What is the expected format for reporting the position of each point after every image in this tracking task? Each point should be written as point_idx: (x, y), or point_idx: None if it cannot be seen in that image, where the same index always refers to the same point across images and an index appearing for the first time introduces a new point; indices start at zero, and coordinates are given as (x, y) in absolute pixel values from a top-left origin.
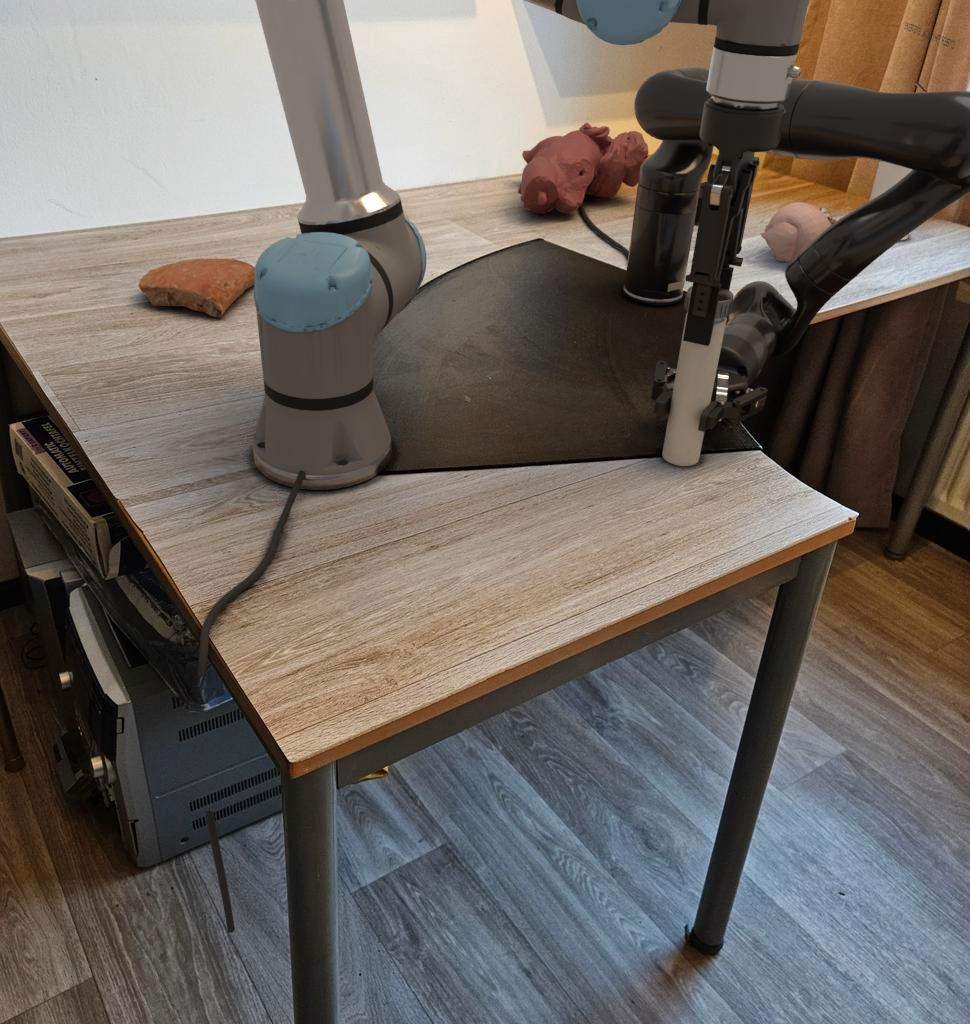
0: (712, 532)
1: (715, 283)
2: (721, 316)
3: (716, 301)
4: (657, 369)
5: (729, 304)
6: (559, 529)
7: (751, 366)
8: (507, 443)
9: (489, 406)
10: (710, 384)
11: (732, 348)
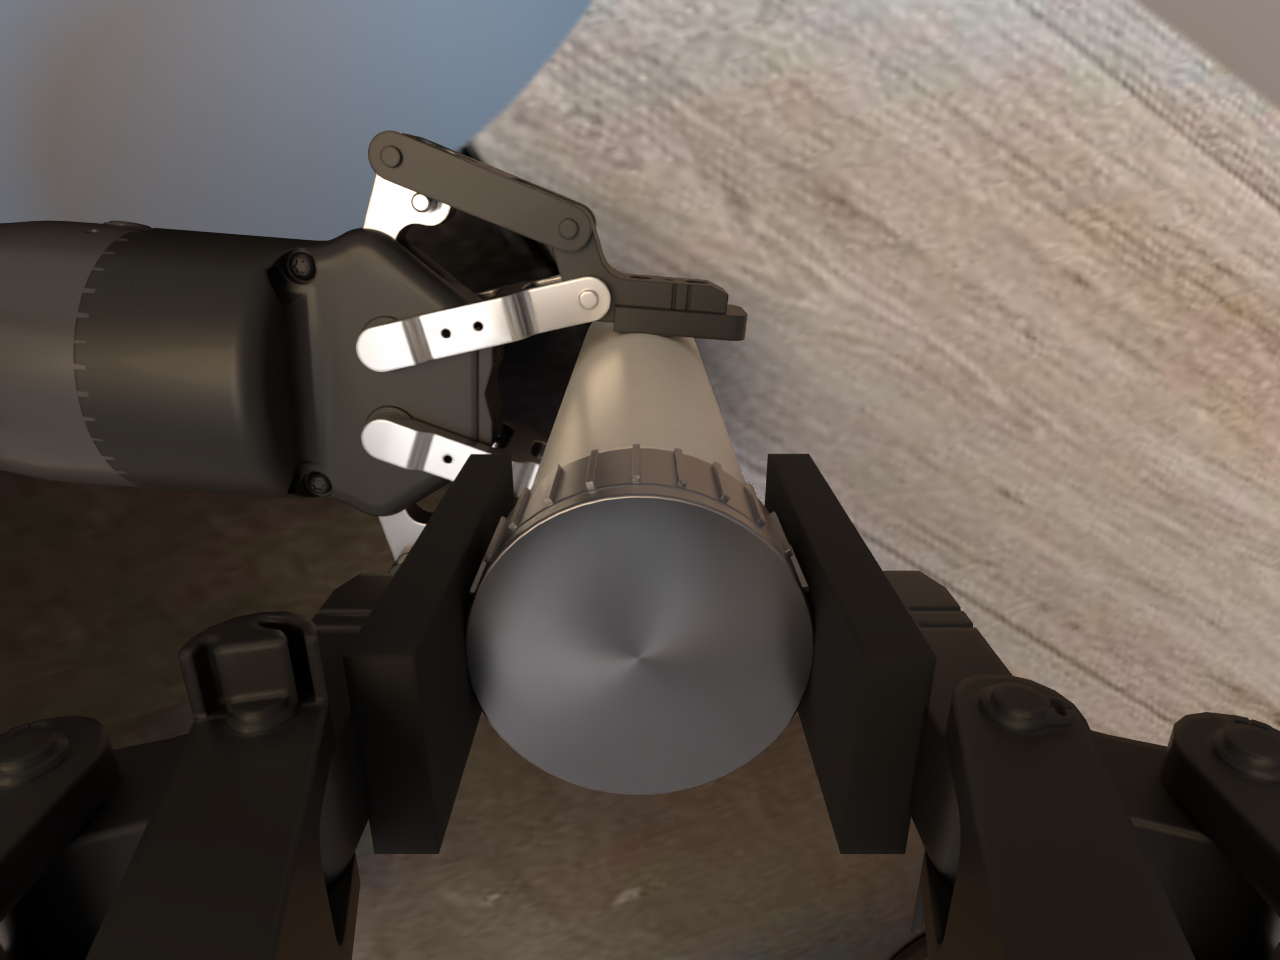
0: (1024, 149)
1: (1075, 714)
2: (740, 485)
3: (886, 584)
4: None
5: (693, 485)
6: (1136, 523)
7: (216, 253)
8: (791, 754)
9: (635, 847)
10: (676, 360)
11: (225, 364)
